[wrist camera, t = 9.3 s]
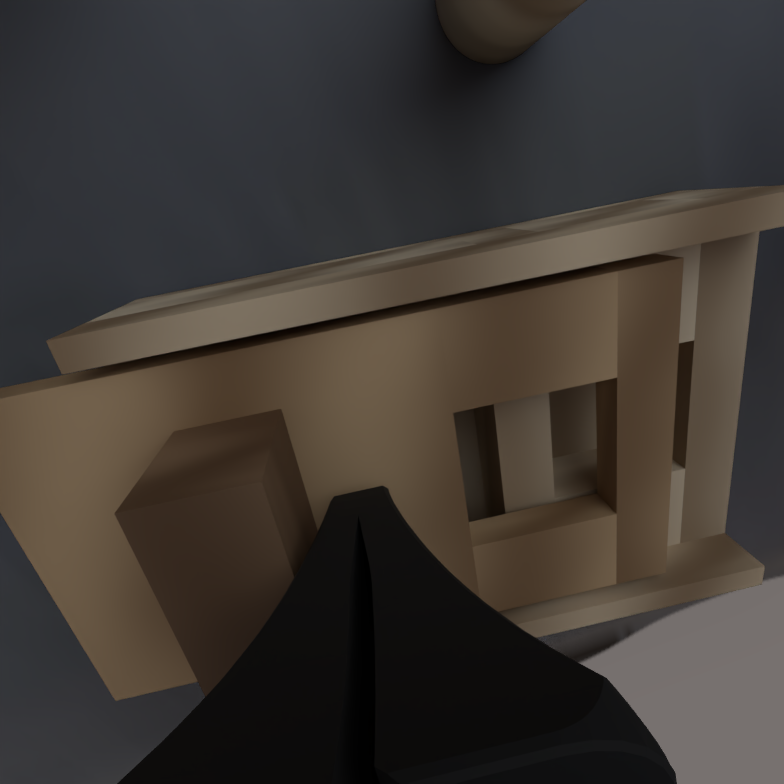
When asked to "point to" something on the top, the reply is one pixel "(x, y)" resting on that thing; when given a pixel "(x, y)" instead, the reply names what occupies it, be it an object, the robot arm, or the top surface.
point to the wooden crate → (539, 412)
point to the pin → (499, 25)
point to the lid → (334, 462)
